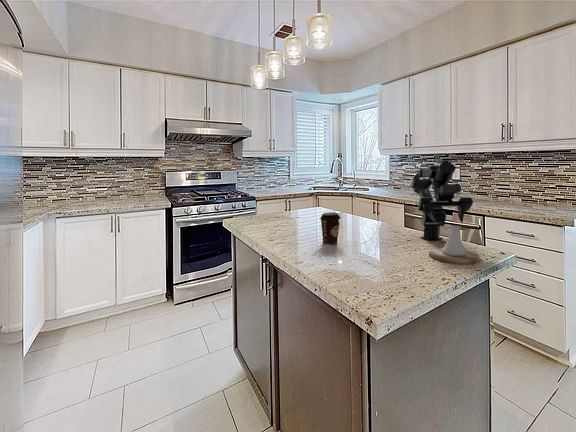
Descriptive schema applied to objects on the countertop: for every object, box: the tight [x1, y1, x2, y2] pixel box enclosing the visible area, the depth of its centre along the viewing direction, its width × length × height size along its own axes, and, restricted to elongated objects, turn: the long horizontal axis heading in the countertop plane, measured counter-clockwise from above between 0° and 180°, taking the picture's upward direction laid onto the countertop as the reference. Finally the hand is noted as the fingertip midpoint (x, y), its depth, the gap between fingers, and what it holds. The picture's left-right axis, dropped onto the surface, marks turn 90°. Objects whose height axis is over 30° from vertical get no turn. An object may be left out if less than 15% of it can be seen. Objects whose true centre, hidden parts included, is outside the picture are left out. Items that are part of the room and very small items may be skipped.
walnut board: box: [428, 247, 481, 265], centre depth 113 cm, size 16×16×1 cm
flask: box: [442, 225, 466, 256], centre depth 112 cm, size 7×7×10 cm
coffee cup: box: [319, 212, 341, 246], centre depth 135 cm, size 9×8×13 cm
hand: (448, 221), depth 118 cm, fingers open, 9 cm apart
